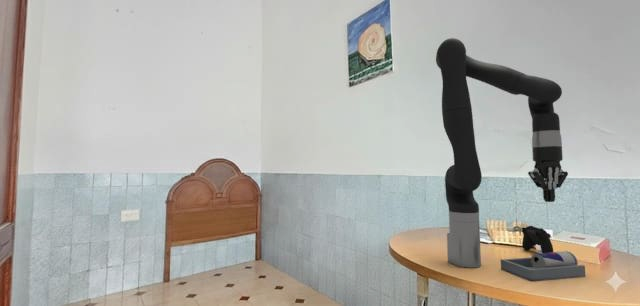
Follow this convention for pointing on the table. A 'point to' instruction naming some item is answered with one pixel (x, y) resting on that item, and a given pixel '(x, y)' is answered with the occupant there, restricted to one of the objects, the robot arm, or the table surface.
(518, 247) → the table surface
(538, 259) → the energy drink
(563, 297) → the table surface
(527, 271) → the tray
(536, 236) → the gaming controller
